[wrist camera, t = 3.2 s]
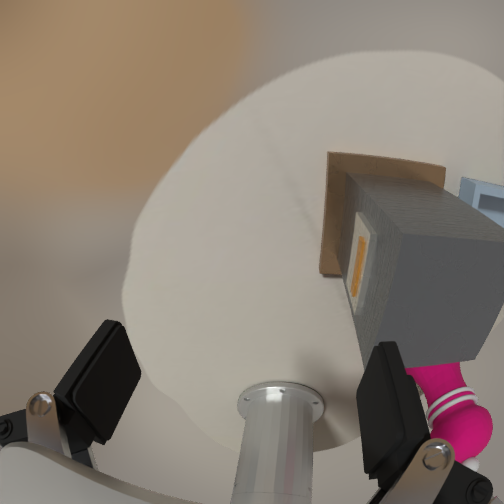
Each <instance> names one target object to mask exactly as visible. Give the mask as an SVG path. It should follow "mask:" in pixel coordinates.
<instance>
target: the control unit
mask: <svg viewBox="0 0 504 504" xmlns="http://www.w3.org/2000/svg"><path fill="white" fill-rule="evenodd" d="M445 172H446V168H445V167H443V166H440V165H435V164H429V163H423V162H417V161H410V160H404V159H397V158H389V157H381V156H372V155H363V154H353V153H341V152H328V151H327V174H326V192H325V206H324V220H323V232H322V243H321V253H320V263H319V272H320V274H342V278H343V282H344V285H345V289H346V293H347V297H348V301H349V304H350V308H351V312H352V317H353V321H354V325H355V329H356V333H357V338H358V342H359V347H360V351H361V356H362V361H363V366H364V370H365V369H366V366H367V364H368V361H369V358H370V356H371V353H372V350H373V347H374V346H378V344H379V342H384V341H395V342H396V343H397V346H398V349H399V352H400V355H401V358H402V361H403V364H404V367H405V368H413V367H423V366H432V365H441V364H449V363H456V362H462V361H469V360H474V359H475V358H476V356H477V354H478V353H479V351H480V349H481V347H482V346H483V344H484V342H485V340H486V338H487V336H488V334H489V333H490V331H491V329H492V327H493V325H494V323H495V321H496V318H497V316H498V314H499V312H500V310H501V308H502V305H503V303H504V228H503V227H501V226H500V225H499V224H497V223H496V222H494V221H493V220H491V219H490V218H489V217H487V216H486V215H484V214H483V213H481V212H480V211H478V210H477V209H475V208H474V207H472V206H470V205H469V204H467V203H466V202H464V201H463V200H461V199H459V198H458V197H456V196H454V195H453V194H451V193H449V192H448V191H446V190H444V189H443V187H444V180H445Z"/></svg>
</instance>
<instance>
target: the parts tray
mask: <svg viewBox="0 0 504 504" xmlns="http://www.w3.org/2000/svg"><path fill="white" fill-rule="evenodd" d="M459 199H461V200H463V201H464V202H466V203H467V204H469V205H470V206H472V207H474V208H475V209H477V210H478V211H480V212H481V213H483V214H484V215H486V216H487V217H489V218H490V219H491V220H493V221H494V222H496V223H497V224H499V225H500V226H501V227H503V228H504V186H500V185H496V184H491V183H487V182H483V181H478V180H474V179H469V178H464V177H462V179H461V186H460V192H459Z"/></svg>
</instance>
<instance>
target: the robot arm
mask: <svg viewBox="0 0 504 504" xmlns="http://www.w3.org/2000/svg"><path fill="white" fill-rule="evenodd" d="M140 377H141V369H140V367H139V364H138V362H137V359H136V357H135V354H134V352H133V349H132V346H131V344H130V341H129V338H128V336H127V333H126V330H125V328H124V326H122V324H121V323H120V322H118V321H113V320H108V319H107V320H105V321H104V322H103V323H102V325H101V326H100V327H99V328H98V330H97V331H96V332H95V334H94V335H93V336H92V338H91V339H90V341H89V342H88V343H87V345H86V346H85V347H84V349H83V350H82V351H81V353H80V354H79V355H78V357H77V358H76V360H75V361H74V363H73V364H72V365H71V367H70V368H69V369H68V371H67V372H66V374H65V375H64V377H63V378H62V380H61V381H60V383H59V384H58V385H57V387H56V388H55V390H54V393H55V394H54V395H53V396H52V395H51V394H50V393H48V392H45V391H42V392H37V393H35V394H34V395H33V396H31V397H30V398H29V400H28V402H27V404H26V409H23V410H20V411H17V412H13V413H10V414H6V415H3V416H0V504H201V503H197V502H192V501H188V500H183V499H179V498H175V497H171V496H168V495H164V494H161V493H157V492H154V491H151V490H147V489H144V488H141V487H138V486H135V485H132V484H130V483H127V482H124V481H121V480H119V479H116V478H114V477H111V476H109V475H106V474H104V473H102V472H99V470H98V467H97V464H96V461H95V458H94V455H93V451H92V448H91V444H92V442H93V441H95V442H97V443H100V444H102V445H105V443H106V441H107V440H109V439H111V437H112V435H113V433H114V430H115V428H116V426H117V424H118V422H119V420H120V418H121V416H122V414H123V412H124V410H125V408H126V406H127V404H128V402H129V400H130V398H131V396H132V393H133V391H134V390H135V388H136V386H137V384H138V382H139V380H140ZM356 399H357V407H358V414H359V423H360V431H361V441H362V451H363V463H364V472H365V473H366V474H369V480H370V479H378V487H379V489H378V490H377V491H376V492H375V494H374V495H373V496H372V498H371V499H370V500H369V501H368V502H367V504H503V503H502V501H501V500H500V499H499V498H498V497H497V496H496V497H493V496H492V493H493V487H492V483H491V482H490V480H489V479H487V478H486V477H485V476H483V475H481V474H479V473H477V472H475V471H474V470H472V469H470V468H468V467H466V466H465V465H463V464H461V463H459V462H458V461H456V460H455V452H454V449H453V447H452V446H451V444H450V443H449V442H447V441H446V440H443V439H440V438H433V439H431V436H430V433H429V429H428V425H427V421H426V417H425V414H424V410H423V407H422V403H421V400H420V396H419V393H418V390H417V387H416V383H415V380H414V378H413V377H412V376H411V375H407V373H406V370H405V367H404V364H403V361H402V358H401V355H400V352H399V349H398V346H397V343H396V342H395V341H384V342H379V344H378V346H374V347H373V350H372V353H371V356H370V358H369V361H368V364H367V366H366V369H365V372H364V374H363V377H362V379H361V382H360V384H359V387H358V389H357V394H356ZM237 409H238V412H239V414H240V415H241V416H242V417H243V418H244V419H245V420H246V422H245V427H244V433H243V439H242V444H241V450H240V456H239V461H238V466H237V472H236V477H235V482H234V488H233V493H232V497H231V502H230V504H311V498H312V497H311V496H312V469H313V468H312V467H313V423H314V422H315V421H317V420H318V419H319V418H320V417H321V416H322V414H323V411H324V403H323V400H322V397H321V396H320V395H319V394H318V393H317V392H315V391H314V390H312V389H310V388H308V387H306V386H303V385H299V384H294V383H288V382H270V383H263V384H259V385H256V386H253V387H251V388H249V389H247V390H246V391H244V392H243V393H242V394H241V395H240V397H239V399H238V404H237Z"/></svg>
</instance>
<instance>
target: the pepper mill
mask: <svg viewBox="0 0 504 504" xmlns="http://www.w3.org/2000/svg"><path fill="white" fill-rule="evenodd" d="M405 370H406V373H407V375H411V376H412V377H413V378H414V380H415V382H416V383H417V384H418V385H419V386H420V387H421V389H422V390H423V392H424V394H425V397H426V399H427V404H428V410H427V412H426V418H427V420H428V426H429V427H430V428H431V429H433V430H432V431H431V433H430V436H431V439H433V438H440V439H443V440H446V441H447V442H449V443H450V444H451V446H452V447H453V449H454V452H455V460H456V461H458V462H459V463H461V464H463V465H465V466H466V467H468V468H470V469H472V470H474V471H475V472H476V471H477V469H478V467H479V461H478V459H477V458H475V456H477V455H478V454H479V453H480V452H481V451H482V450H483V449H484V448H485V447H486V446H487V444H488V442H489V440H490V438H491V435H492V430H493V425H492V419H491V415H490V414H489V412H488V410H487V409H485V408H484V407H481V406H478V405H477V402H478V398H477V396H475V391H474V389H473V388H471V387H467V386H466V384H465V382H464V380H463V377H462V374H461V370H460V362H456V363H449V364H441V365H432V366H423V367H413V368H405Z"/></svg>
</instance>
